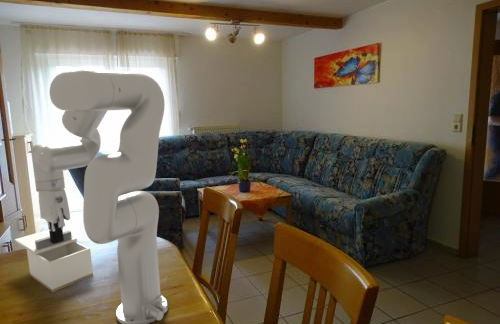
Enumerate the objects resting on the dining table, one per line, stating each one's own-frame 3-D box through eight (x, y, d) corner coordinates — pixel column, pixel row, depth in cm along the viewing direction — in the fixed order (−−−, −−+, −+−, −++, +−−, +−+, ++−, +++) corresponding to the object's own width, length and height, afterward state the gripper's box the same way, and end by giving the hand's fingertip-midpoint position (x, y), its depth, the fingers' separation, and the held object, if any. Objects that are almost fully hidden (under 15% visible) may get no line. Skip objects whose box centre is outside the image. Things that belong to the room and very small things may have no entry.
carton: (93, 275, 107) (90, 248, 105) (52, 292, 97) (48, 263, 96) (69, 261, 116) (66, 236, 115) (30, 275, 107) (26, 249, 105)
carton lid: (77, 240, 111) (76, 231, 110) (35, 254, 101) (33, 243, 100) (55, 230, 120) (53, 221, 120) (15, 241, 111) (13, 232, 110)
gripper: (74, 185, 100) (81, 243, 103) (52, 179, 109) (59, 232, 112) (47, 190, 94) (55, 252, 97) (26, 183, 103) (34, 240, 106)
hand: (57, 241), depth 105 cm, fingers closed
